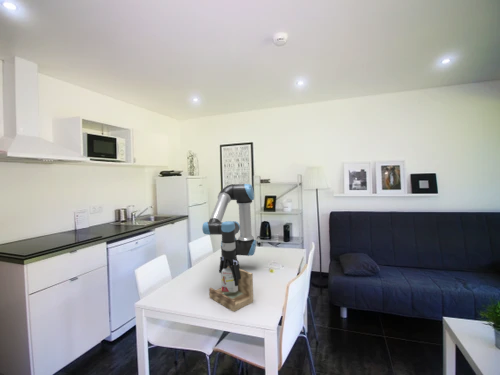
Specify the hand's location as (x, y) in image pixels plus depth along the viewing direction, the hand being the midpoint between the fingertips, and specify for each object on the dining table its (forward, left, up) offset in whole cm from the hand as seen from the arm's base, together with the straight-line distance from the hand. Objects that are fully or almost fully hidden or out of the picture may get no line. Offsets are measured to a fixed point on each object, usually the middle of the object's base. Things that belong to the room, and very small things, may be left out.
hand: (229, 288), depth 141 cm
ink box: (0, 0, -1) cm, 1 cm away
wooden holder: (0, +1, -7) cm, 7 cm away
